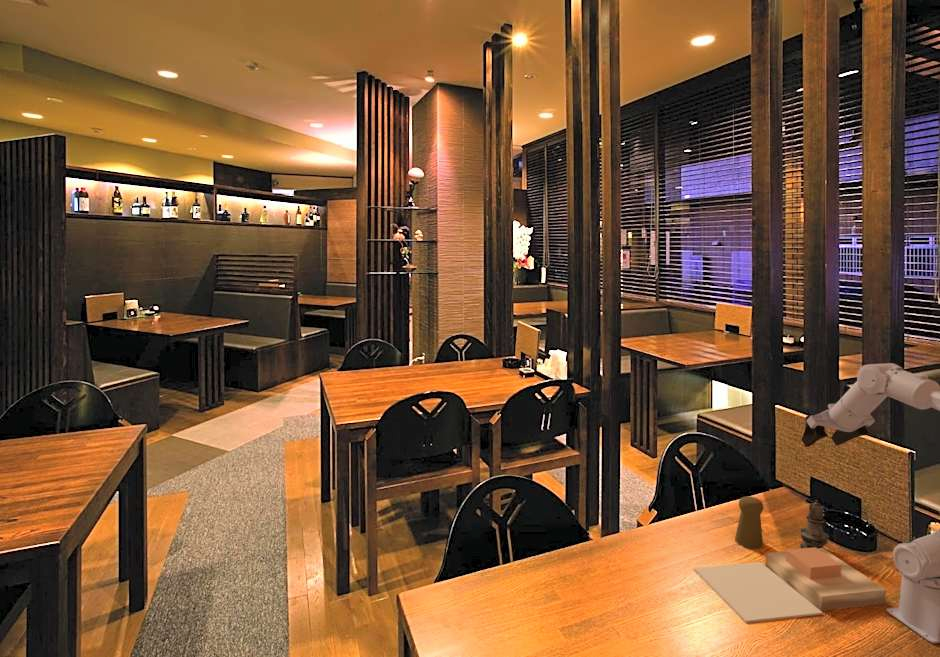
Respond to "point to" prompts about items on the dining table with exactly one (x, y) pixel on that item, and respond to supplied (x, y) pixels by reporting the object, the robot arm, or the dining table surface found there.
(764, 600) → the mat
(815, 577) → the coaster
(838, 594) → the serving board
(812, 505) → the dark chess piece
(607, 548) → the dining table surface
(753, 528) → the cork
